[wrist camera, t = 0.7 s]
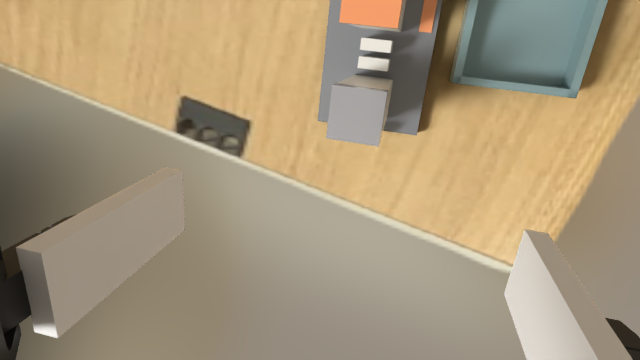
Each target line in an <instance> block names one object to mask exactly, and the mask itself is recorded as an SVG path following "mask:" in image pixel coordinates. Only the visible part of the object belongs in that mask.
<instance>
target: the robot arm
mask: <svg viewBox="0 0 640 360" xmlns="http://www.w3.org/2000/svg"><path fill="white" fill-rule="evenodd" d="M184 230H185V225H184V198H183V173H182V170H181V169H175V168H169V167H164V168H162V169H160V170H159V171H157V172H155V173H153V174H151V175H150V176H148V177H146V178H144V179H142V180H140V181H138V182H136V183H134V184H133V185H131V186H129V187H127V188H125V189H123V190H122V191H120V192H118V193H116V194H114V195H112V196H110V197H108V198H107V199H105V200H103V201H101V202H99V203H97V204H95V205H94V206H92V207H90V208H88V209H86V210H84V211H83V212H81V213H79V214H76V215H73V216H70V217H66V218H64V219H62V220H60V221H58V222H56V223H55V224H52V225H51V227H47V228H45V229H43V230H41V231H40V232H39V233H36V234H34V235H32V236H30V237H28V238H26V239H24V240H22V241H20V242H19V243H17V244H15V245H13V246H11V247H9V248H7V249H5V250H4V251H2V250H1V246H0V360H16V355H17V351H18V346H19V342H20V337H21V330H20V326H19V323H20V322H22V321H23V320H24V319H26V318H27V317H28V316H30V315H31V318H32V323H33V327H34V332H37V333H41V334H44V335H48V336H51V337H55V338H59V337H60V336H61V335H62V334H63V333H65V332H66V331H67V330H68V329H69V328H70V327H72V326H73V325H74V324H75V323H76V322H77V321H78V320H80V319H81V318H82V317H83V316H84V315H86V314H87V313H88V312H89V311H90V310H91V309H93V308H94V307H95V306H96V305H97V304H98V303H100V302H101V301H102V300H103V299H104V298H105V297H107V296H108V295H109V294H110V293H111V292H112V291H114V290H115V289H116V288H117V287H118V286H119V285H121V284H122V283H123V282H124V281H125V280H126V279H128V278H129V277H130V276H131V275H132V274H133V273H135V272H136V271H137V270H138V269H139V268H140V267H142V266H143V265H144V264H145V263H146V262H147V261H148V260H150V259H151V258H152V257H153V256H154V255H155V254H157V253H158V252H159V251H160V250H161V249H163V248H164V247H165V246H166V245H167V244H168V243H169V242H171V241H172V240H173V239H174V238H175V237H176V236H178V235H179V234H180V233H181V232H182V231H184ZM504 295H505V298H506V301H507V304H508V306H509V310H510V312H511V315H512V318H513V321H514V324H515V327H516V330H517V333H518V336H519V339H520V341H521V344H522V347H523V350H524V353H525V356H526V359H527V360H640V338H639V337H638V336H637V335H636V334H635V333H634V332H633V331H632V330H630V329H629V328H628V327H627V326H626V325H624V324H623V323H622V322H620V321H618V320H613V319H608V318H605V317H604V316H603V314H602V313H601V311H600V310H599V309H598V307H597V305H596V304H595V302H594V301H593V299H592V298H591V297H590V295H589V294H588V292H587V291H586V289H585V288H584V286H583V285H582V283H581V282H580V280H579V279H578V277H577V276H576V274H575V273H574V271H573V270H572V268H571V267H570V265H569V264H568V262H567V261H566V259H565V258H564V256H563V255H562V253H561V252H560V250H559V249H558V247H557V246H556V244H555V243H554V241H553V240H552V238H551V237H550V235H549V234H548V233H543V232H537V231H532V230H526V229H525V230H524V233H523V236H522V239H521V242H520V246H519V249H518V252H517V255H516V258H515V261H514V264H513V267H512V271H511V274H510V277H509V280H508V283H507V286H506V289H505V293H504Z"/></svg>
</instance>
